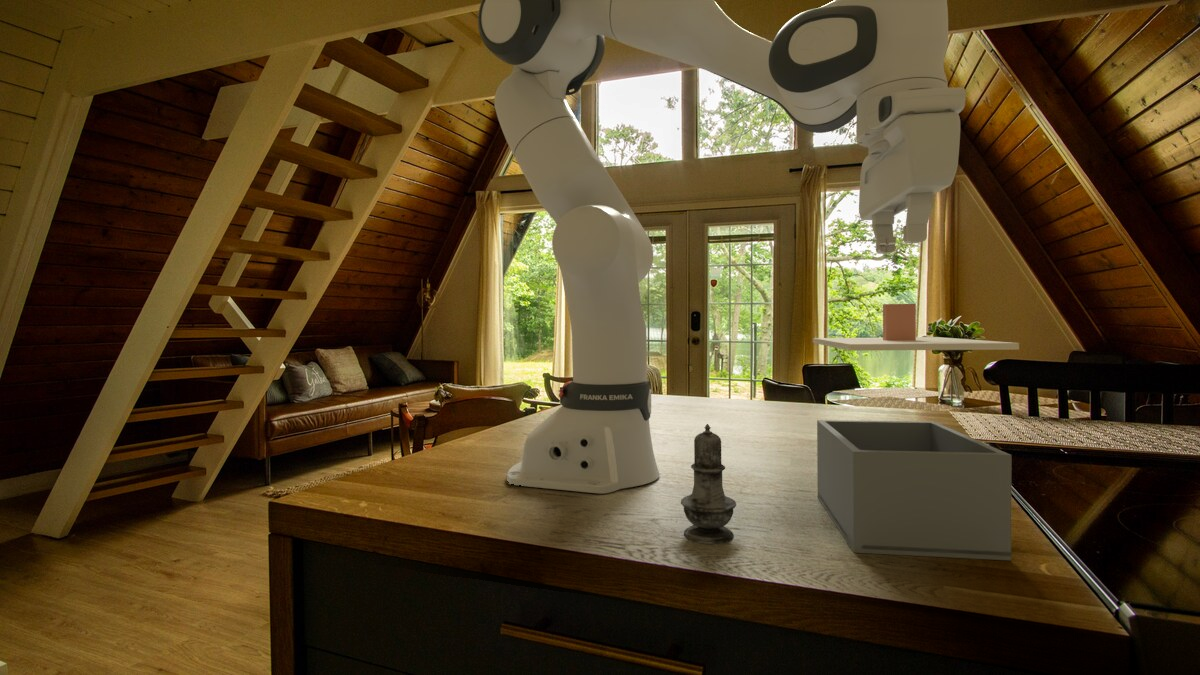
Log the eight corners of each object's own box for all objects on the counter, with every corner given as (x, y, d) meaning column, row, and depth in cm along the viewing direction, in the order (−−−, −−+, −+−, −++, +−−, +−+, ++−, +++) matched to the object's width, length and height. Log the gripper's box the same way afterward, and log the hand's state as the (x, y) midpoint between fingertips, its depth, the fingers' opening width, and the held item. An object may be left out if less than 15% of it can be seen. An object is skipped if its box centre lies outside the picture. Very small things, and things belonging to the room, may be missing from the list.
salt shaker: (725, 549, 58) (724, 430, 58) (672, 538, 62) (670, 426, 61) (744, 531, 63) (743, 421, 63) (693, 521, 67) (692, 417, 66)
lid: (849, 350, 56) (849, 303, 56) (812, 342, 75) (812, 307, 75) (1019, 349, 54) (1019, 299, 54) (937, 341, 72) (937, 304, 72)
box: (853, 552, 57) (853, 451, 57) (817, 497, 75) (817, 420, 75) (1011, 560, 55) (1011, 455, 54) (935, 501, 72) (935, 421, 72)
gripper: (846, 150, 74) (845, 258, 75) (900, 87, 54) (899, 236, 54) (899, 147, 73) (898, 257, 74) (974, 82, 53) (972, 234, 53)
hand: (899, 248), depth 64 cm, fingers open, 8 cm apart
